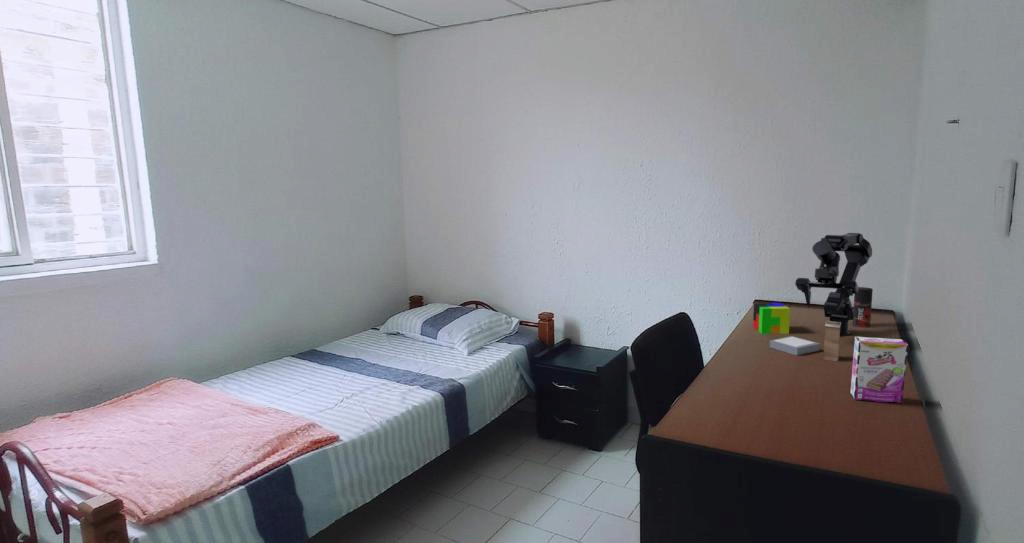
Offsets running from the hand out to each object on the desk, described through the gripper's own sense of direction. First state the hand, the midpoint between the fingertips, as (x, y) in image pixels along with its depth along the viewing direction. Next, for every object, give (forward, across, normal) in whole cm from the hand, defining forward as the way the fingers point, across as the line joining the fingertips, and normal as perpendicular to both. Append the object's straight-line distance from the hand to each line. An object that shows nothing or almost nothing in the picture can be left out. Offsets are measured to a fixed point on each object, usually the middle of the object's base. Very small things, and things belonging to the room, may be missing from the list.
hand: (822, 308), depth 191 cm
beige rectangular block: (+18, +5, -3) cm, 20 cm away
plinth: (+16, -7, 0) cm, 17 cm away
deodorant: (-9, +5, +41) cm, 42 cm away
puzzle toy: (+5, -21, +18) cm, 28 cm away
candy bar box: (+35, +22, -28) cm, 51 cm away
